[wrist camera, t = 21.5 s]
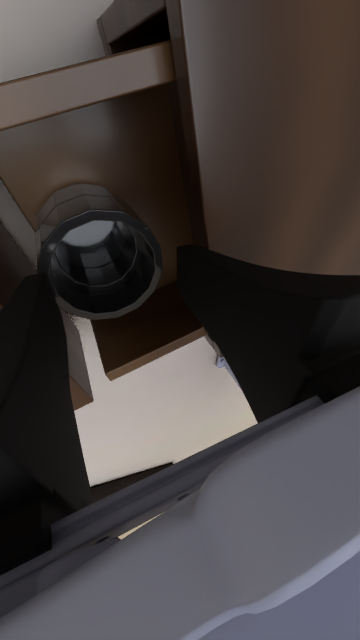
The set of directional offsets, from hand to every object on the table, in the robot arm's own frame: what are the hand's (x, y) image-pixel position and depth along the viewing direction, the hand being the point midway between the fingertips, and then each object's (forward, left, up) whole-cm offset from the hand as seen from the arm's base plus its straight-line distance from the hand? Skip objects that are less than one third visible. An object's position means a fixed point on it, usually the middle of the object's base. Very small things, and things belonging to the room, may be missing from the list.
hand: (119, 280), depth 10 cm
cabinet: (+3, -10, -7) cm, 12 cm away
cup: (0, 0, -5) cm, 5 cm away
